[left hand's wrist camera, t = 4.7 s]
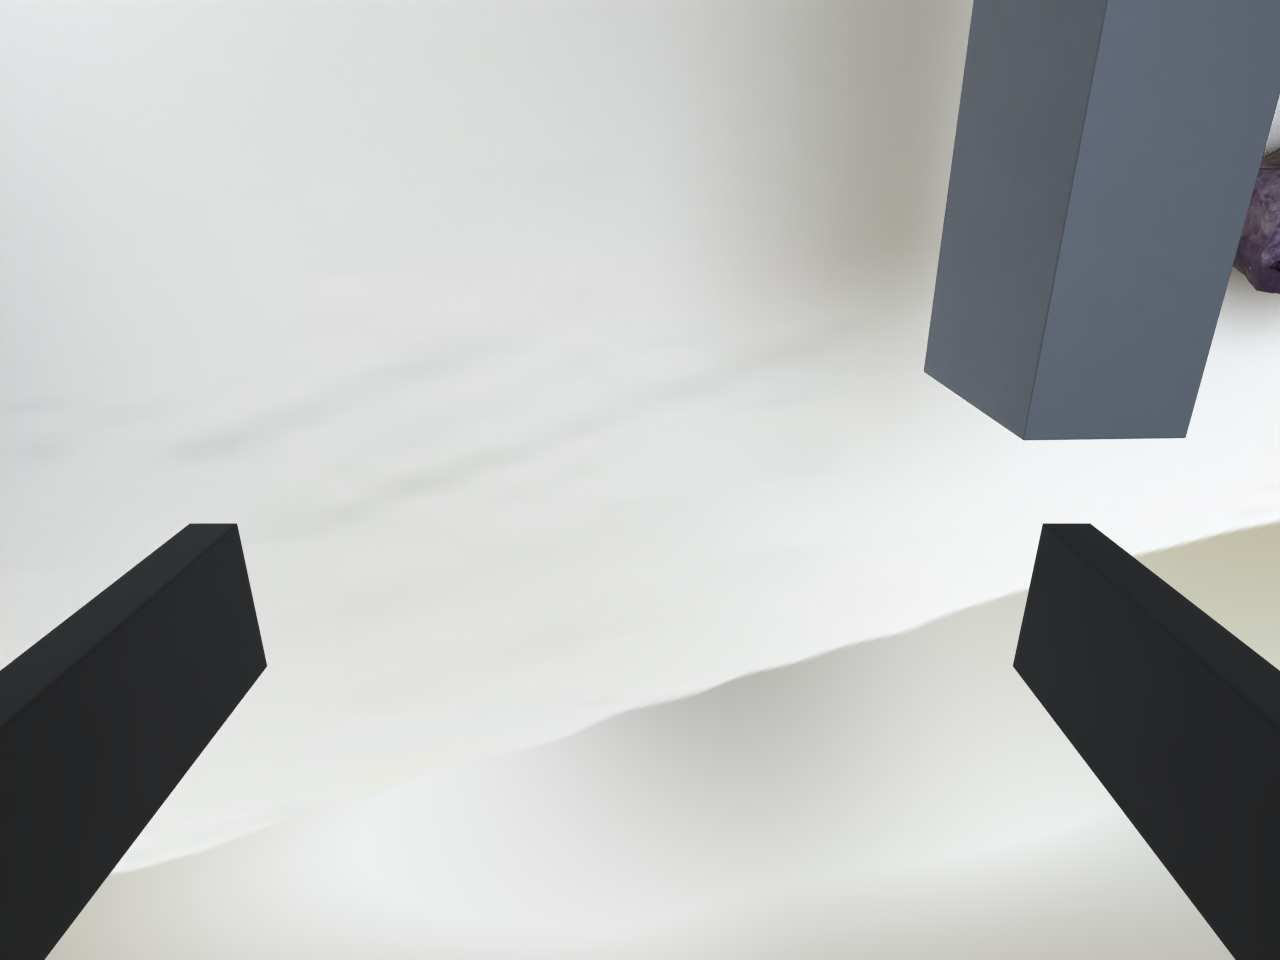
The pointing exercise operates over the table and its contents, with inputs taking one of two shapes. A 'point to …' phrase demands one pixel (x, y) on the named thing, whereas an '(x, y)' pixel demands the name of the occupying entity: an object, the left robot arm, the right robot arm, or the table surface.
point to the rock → (1262, 230)
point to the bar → (1098, 207)
